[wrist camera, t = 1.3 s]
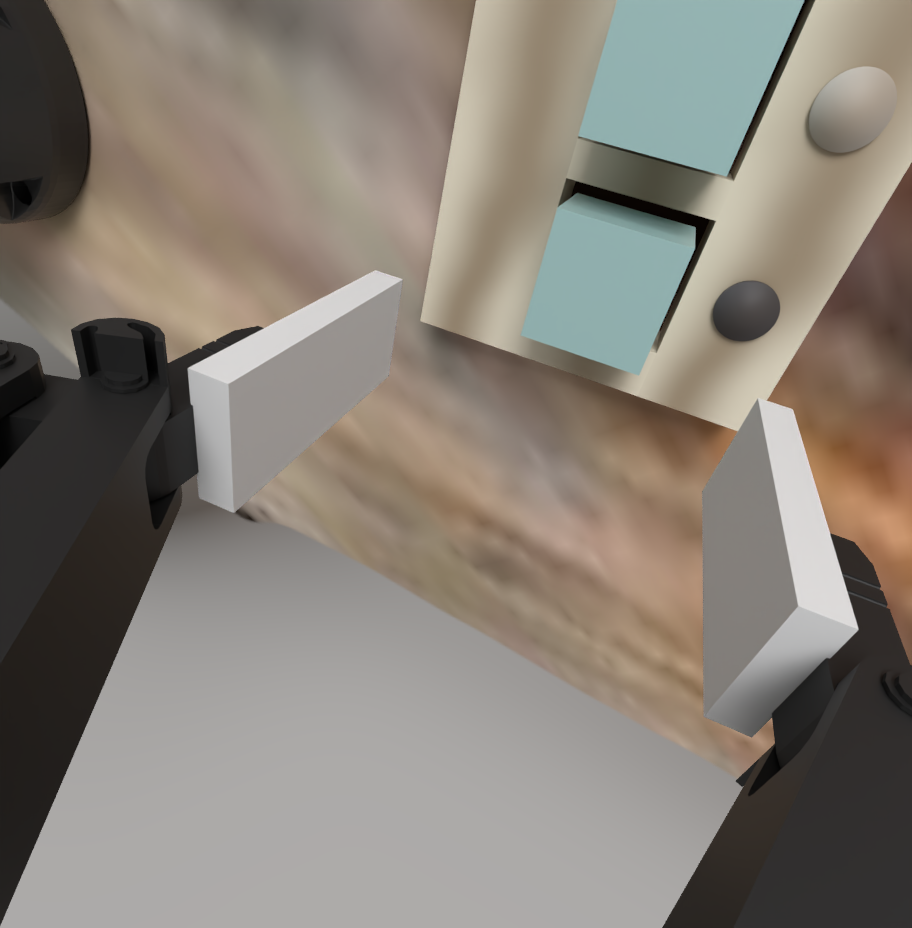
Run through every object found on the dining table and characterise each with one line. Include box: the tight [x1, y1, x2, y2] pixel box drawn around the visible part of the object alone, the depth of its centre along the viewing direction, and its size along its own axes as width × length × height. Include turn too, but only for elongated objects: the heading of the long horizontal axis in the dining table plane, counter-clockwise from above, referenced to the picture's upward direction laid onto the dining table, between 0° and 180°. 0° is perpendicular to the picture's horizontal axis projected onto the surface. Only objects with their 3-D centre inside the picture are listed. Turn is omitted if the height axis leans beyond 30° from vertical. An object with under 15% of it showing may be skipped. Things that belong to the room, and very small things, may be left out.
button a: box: [521, 193, 696, 376], centre depth 22 cm, size 5×5×4 cm
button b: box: [578, 0, 804, 177], centre depth 18 cm, size 5×5×4 cm
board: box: [420, 0, 912, 431], centre depth 21 cm, size 16×24×3 cm, turn 167°
